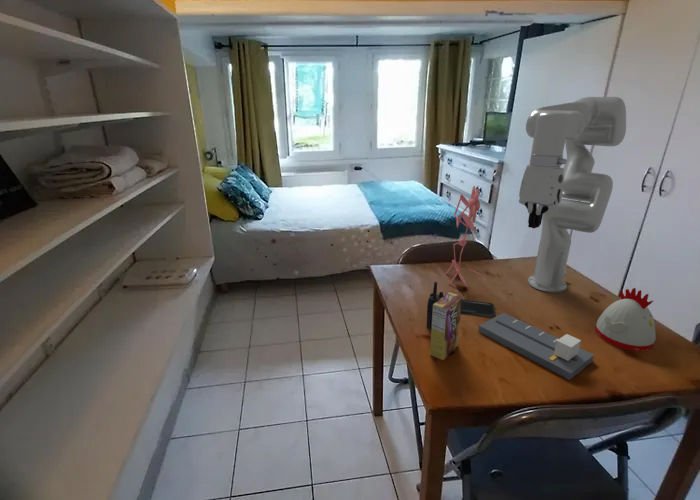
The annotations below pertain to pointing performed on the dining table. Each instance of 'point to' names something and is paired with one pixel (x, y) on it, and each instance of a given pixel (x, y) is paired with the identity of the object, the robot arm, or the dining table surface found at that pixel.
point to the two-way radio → (431, 301)
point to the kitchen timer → (628, 322)
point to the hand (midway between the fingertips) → (533, 226)
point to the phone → (477, 308)
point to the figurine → (473, 206)
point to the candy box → (445, 325)
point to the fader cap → (567, 347)
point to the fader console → (534, 344)
